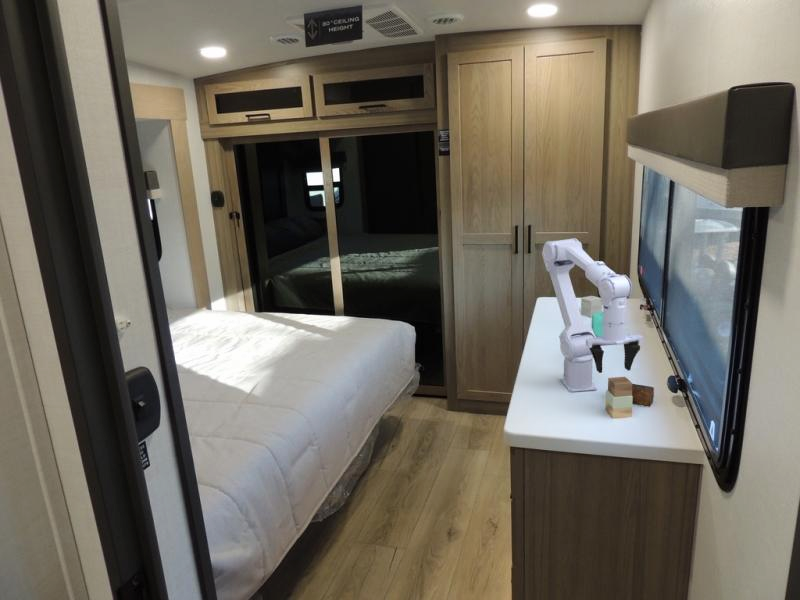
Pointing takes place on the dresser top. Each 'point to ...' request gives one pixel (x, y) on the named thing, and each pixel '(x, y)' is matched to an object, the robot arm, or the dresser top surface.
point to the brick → (642, 395)
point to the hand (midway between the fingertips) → (613, 370)
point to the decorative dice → (597, 323)
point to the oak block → (618, 411)
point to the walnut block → (620, 386)
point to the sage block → (618, 400)
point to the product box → (590, 305)
